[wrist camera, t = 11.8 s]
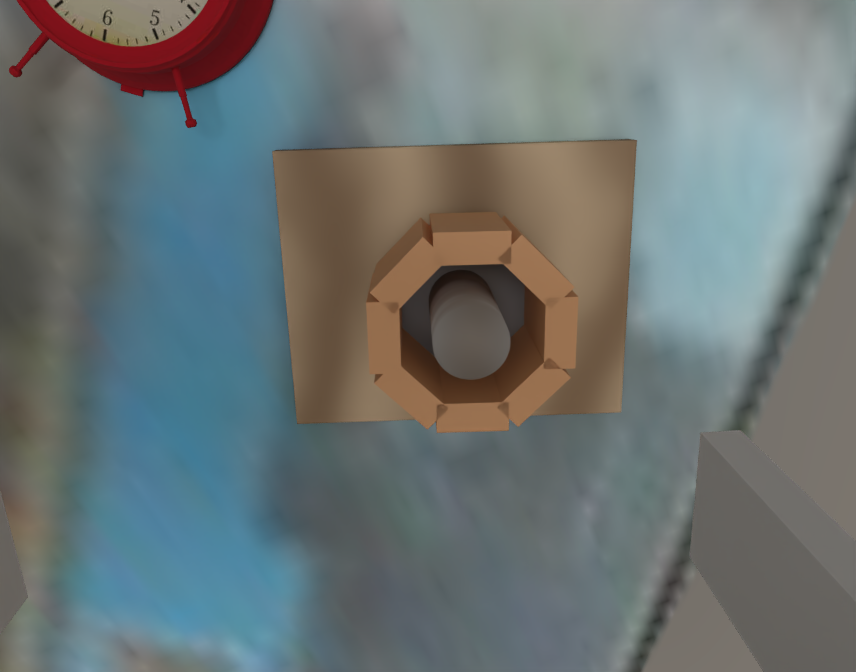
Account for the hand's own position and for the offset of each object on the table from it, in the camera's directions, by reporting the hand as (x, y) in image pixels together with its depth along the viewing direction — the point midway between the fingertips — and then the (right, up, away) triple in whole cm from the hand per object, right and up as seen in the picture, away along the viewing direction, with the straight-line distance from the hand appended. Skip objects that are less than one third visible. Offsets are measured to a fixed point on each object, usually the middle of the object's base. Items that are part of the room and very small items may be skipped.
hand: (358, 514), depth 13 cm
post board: (+3, +6, +21) cm, 22 cm away
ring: (+3, +5, +18) cm, 19 cm away
